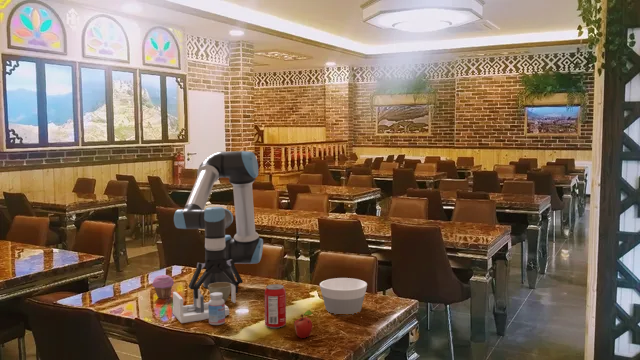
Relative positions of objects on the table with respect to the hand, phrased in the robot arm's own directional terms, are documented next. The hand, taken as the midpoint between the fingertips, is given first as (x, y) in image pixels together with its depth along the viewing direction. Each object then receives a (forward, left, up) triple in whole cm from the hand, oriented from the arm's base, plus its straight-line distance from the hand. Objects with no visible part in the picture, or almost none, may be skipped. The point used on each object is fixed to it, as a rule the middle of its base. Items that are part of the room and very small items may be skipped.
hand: (216, 304), depth 217 cm
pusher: (+5, -13, -6) cm, 16 cm away
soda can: (-18, +14, -7) cm, 24 cm away
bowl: (-50, +9, -8) cm, 51 cm away
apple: (-22, +30, -7) cm, 38 cm away
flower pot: (-10, -27, -7) cm, 30 cm away
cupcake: (+10, -45, -7) cm, 47 cm away
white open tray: (+2, -13, -7) cm, 15 cm away
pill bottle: (0, 0, -7) cm, 7 cm away
